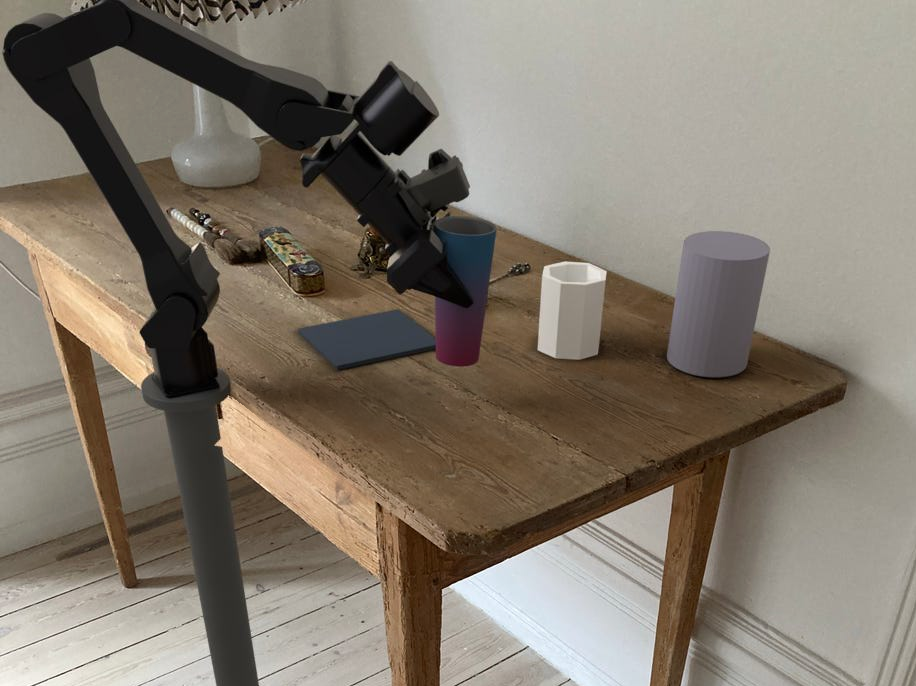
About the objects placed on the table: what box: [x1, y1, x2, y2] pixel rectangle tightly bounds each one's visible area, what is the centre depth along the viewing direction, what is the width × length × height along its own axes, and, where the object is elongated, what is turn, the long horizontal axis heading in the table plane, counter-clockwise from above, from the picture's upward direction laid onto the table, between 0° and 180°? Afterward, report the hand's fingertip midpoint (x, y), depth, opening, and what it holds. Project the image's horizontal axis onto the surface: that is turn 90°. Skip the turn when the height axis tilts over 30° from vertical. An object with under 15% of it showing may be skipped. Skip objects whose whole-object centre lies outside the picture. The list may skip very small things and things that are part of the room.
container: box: [666, 230, 771, 379], centre depth 129 cm, size 10×10×15 cm
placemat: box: [297, 308, 436, 371], centre depth 136 cm, size 15×13×1 cm
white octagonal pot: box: [537, 261, 607, 361], centre depth 135 cm, size 12×9×10 cm
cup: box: [434, 215, 498, 368], centre depth 115 cm, size 7×7×15 cm
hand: (471, 294), depth 115 cm, fingers closed on cup, 6 cm apart
